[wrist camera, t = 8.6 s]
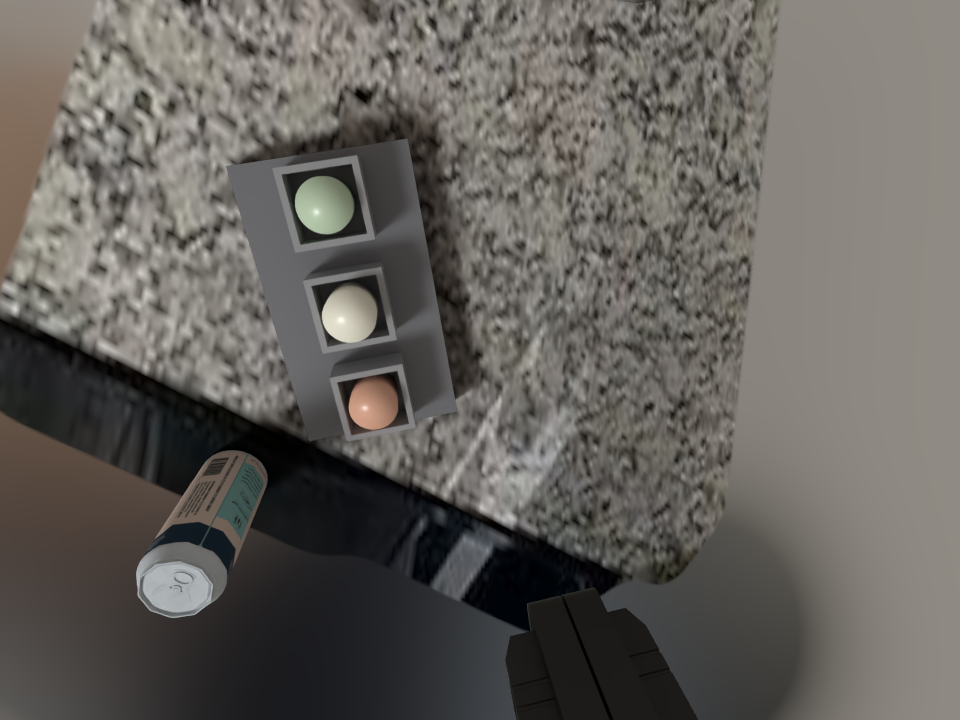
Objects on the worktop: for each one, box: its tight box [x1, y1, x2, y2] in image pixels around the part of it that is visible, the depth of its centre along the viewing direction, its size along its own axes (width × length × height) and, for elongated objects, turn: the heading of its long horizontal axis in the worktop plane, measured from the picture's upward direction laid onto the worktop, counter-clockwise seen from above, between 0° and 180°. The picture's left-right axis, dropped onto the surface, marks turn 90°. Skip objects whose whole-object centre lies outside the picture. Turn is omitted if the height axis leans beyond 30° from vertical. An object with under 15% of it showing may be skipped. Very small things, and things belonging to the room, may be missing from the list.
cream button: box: [322, 282, 378, 343], centre depth 33 cm, size 3×3×3 cm
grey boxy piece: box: [226, 139, 457, 442], centre depth 35 cm, size 11×19×4 cm, turn 8°
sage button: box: [295, 176, 356, 234], centre depth 31 cm, size 3×3×3 cm
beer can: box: [136, 450, 268, 618], centre depth 35 cm, size 5×5×12 cm
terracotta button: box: [349, 373, 398, 430], centre depth 36 cm, size 3×3×3 cm
